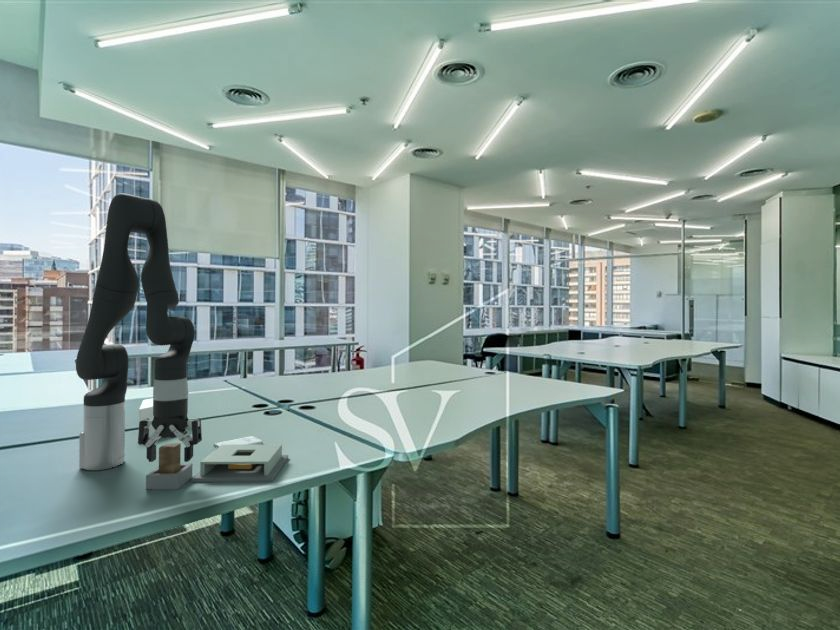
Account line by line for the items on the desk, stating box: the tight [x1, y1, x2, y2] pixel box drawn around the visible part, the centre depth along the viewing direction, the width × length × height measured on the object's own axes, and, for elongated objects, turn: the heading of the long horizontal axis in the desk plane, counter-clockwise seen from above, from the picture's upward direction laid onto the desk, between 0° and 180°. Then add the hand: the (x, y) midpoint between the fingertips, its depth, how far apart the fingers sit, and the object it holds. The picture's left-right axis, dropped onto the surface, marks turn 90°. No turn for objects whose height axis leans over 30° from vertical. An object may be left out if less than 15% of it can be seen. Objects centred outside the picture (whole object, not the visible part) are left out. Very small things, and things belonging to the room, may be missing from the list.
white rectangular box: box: [138, 397, 156, 438], centre depth 156 cm, size 14×29×10 cm, turn 2°
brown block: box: [158, 442, 182, 473], centre depth 108 cm, size 4×4×9 cm
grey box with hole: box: [191, 443, 289, 483], centre depth 118 cm, size 20×17×5 cm
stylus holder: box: [145, 463, 193, 490], centre depth 108 cm, size 8×8×4 cm
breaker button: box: [228, 464, 255, 469], centre depth 118 cm, size 6×6×1 cm
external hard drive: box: [213, 435, 264, 449], centre depth 138 cm, size 2×8×12 cm
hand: (170, 460), depth 108 cm, fingers open, 8 cm apart
